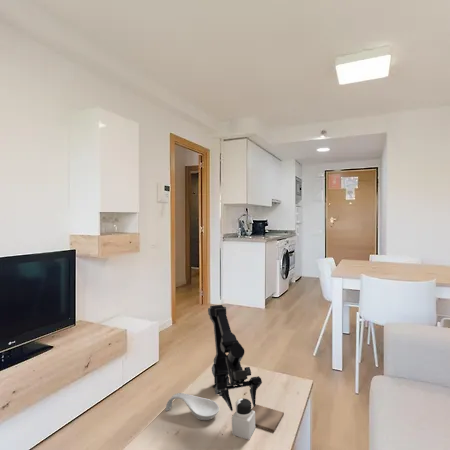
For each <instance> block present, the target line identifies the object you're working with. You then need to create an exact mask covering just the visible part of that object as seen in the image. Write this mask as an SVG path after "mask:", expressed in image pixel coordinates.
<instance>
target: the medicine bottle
mask: <svg viewBox="0 0 450 450" xmlns="http://www.w3.org/2000/svg"><path fill="white" fill-rule="evenodd" d="M251 409H252V401H251V400H249V399H248V398H239V399H237V400H236V402H235V411H234V413H233V415H232V416H231V435H232V436H236V437H239V438H241V439H245V440H247V441H248V440H249V441H250V439H251V437H252V436H253V434H254V432H255V430H256V426H255V411H253V410H251Z"/></svg>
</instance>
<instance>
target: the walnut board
mask: <svg viewBox="0 0 450 450" xmlns="http://www.w3.org/2000/svg"><path fill="white" fill-rule="evenodd" d="M251 410H253V411H255V427H257V428H260V429H264V430H266V431H268V432H269V431H270V432H272V433H275V431H276V430H277V428H278V426H279V424H280V422H281V421H282V419H283V418H284V415H285V413H284V411H280V410H277V409H273V408H271V407H267V406H263V405H259V404H257V403H255V407H254V406H253V405H252V407H251Z"/></svg>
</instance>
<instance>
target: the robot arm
mask: <svg viewBox="0 0 450 450" xmlns="http://www.w3.org/2000/svg"><path fill="white" fill-rule="evenodd" d="M207 313H208V316H209V319H210V321H211V322H212V325H213V333H214V343H215V345H214V346H215V355H214V359H213V364H212V366H211V373H212V376H213V377H214V379H213V380H214V384H213V385H212V388H214V394H215V395H218V396H219V397H221V398H222V399H223V401H225V403H226V405H227V406H228V408H229V410H230V411H231V412H233V411H234V409H233V405H232V400H231V398H230V392H229V390H234V389H239V388H244V387H249V388H250V389H249V395H250V398H251V404H252V407H253V406H254V407H255V404H256V399H257V396H256V395H257V390H258V388H259V387H260V386H261V385H262V383H263V381H262V377H260V376H252V372H251V367H250V366H245V367H243V366H242V365H241V361H242V359H243V357H244V356H245V348H244V347H243V346H242V344H241V343H240V342H239V340H238V338H237V336H236V335H235V334H234V333H233V332H232V330H231V327H230V323H229V320H228V319H229V318H228V316H227V307H226V306H224V305H223V304H215V305H210V306H209V307H208V308H207ZM227 353H228V354H227ZM243 368H244V369H243ZM250 376H252V377H250ZM248 377H250V379H249V380H248Z"/></svg>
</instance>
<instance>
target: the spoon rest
mask: <svg viewBox="0 0 450 450" xmlns="http://www.w3.org/2000/svg"><path fill="white" fill-rule="evenodd" d="M178 399H179V400H182V401H183V402H184V404H185V405H186V406H187V407H188V409H189V411H190V412H191V414H192V415H193V416H194V417H195V418H196V419H198V420H201V421H209V420H212V419H214V418H215V416H217V415H218V413H219V412H220V406H219V404H218V403H217V402H216V401H215V400H213V399H209V398H205V397H200V396H197V395H192V394H189V393H181V392H178V393H175V394H173V395H172V396H171V397H170V398H169V399H168V401H167V402H166V404H165V405H166V406H165V411H166V412H167V411H170V409H171V408H172V406H173V401H174V400H178Z"/></svg>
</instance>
